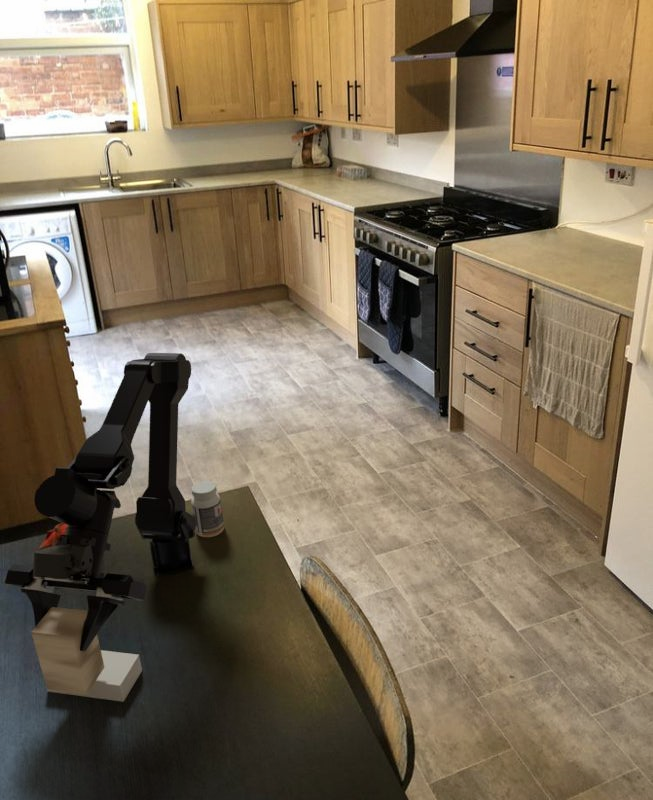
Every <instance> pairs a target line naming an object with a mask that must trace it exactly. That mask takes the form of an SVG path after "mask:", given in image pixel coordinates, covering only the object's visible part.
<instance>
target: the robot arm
mask: <svg viewBox="0 0 653 800" xmlns="http://www.w3.org/2000/svg"><path fill="white" fill-rule="evenodd" d="M191 375H192V364H191V362H190V360H189V359H187V358H186V356H185V354H183V353H174V352H171V353H170V352H168V353H167V352H148V353H146V354H145V356H144V358H140V359H132V360H130V361H126V363H125V365H124V369H123V378H122V380H121V382H120V383H119V384H120V385H119V386H118V388H117V391H116V393H115V396H114V398H113V400H112V402H111V405H110V406H109V408H108V412H107V413H106V416H105V418H104V420H103V422H102V425H101V426H100V428H99V430H98V431H96V432H95V433H93V434H91V435H90V436H89V437H87V438H86V439H85V441H84V442H83V444H82V445H81V447H80V449H79V451H78V452H77V453H76V456H75V457H74V458H73V459H72V461H70V463H69V464H68V465H67V466H66V467H62V466H57V467H55V470H54V475H52V476H49V477H47V478H46V479H45V480H44V481H42V482H41V484H40V485H39V487H38V488H37V489H36V490H35V493H34V506H35V508H36V510H37V511H38V513H39V514H40V515H42V516H44V517H47V518H49V519H52V520H54V521H57V522H59V523H64V524H67V525H68V527H67V531H66V535H60V537H59V538H58V541H57V544H56V546H53V547H48V548H44V549H41V550H38V549H37V550H38V551H37V550H35V551H34V552H33V565H23V564H12V565H11V567H10V568H9V569H8V570H6V573H5V577H4V580H3V583H2V584H4V585H8V586H12V587H16V588H20V592H21V593H22V594H25V595H26V597H27V598H28V599H29V601H30V603H31V606H32V610H33V616H34V626H35V627H36V626H37V624H38V623H39V622H40V621H41V620H42V618H43V617H44V616H45V615H46V614H47V612H48V611H49V610H50V609H51V608H52V607H58V606H59V603H60V599H61V597H62V596H61V594H57V593H54V589H55V588H59V589H60V588H61V589H69V590H72V589H73V590H81V591H92V592H95V595H88V594H87V596H86V599H87V607H88V610H87V611H88V613H87V617H86V621H85V625H84V629H83V633H82V637H81V644H80V651H86V650H87V648H88V647H89V645H90V644H91V642H92V641H93V639H94V638H95V636H96V635H97V636H98V634H99V632H100V630H101V629H102V627H103V626H104V624H105V623H106V622H107V621H108V619H109V618H110V617H111V616H112V615H113V613H114V612H115V611H116V610H117V609H118V607H119V606H125V604H126V601H124V599H125V600H133V601H142V602H143V601H145V598H146V594H147V584H146V582H145V580H144V579H142V578H139V577H137V576H133V575H129V574H119V573H118V574H117V573H109V572H108V573H106V574H105V572H101V571H102V567H103V562H104V557H105V553H106V552H110V551H111V546H112V544H110V543H108V538H109V534H110V529H111V525H112V520H113V516H114V511H115V509H120V508H121V507H122V505H121V501H120V499H119V498H118V496H117V495H116V491H115V489H116V488H120V487H122V486H124V485H126V484H127V482H128V480H129V479H130V477H131V476H132V471H133V465H134V460H135V455H134V451H133V448H132V443H133V439H134V437H135V434H136V431H137V430H138V427H139V424H140V422H141V419H142V417H143V414H144V412H145V409H146V407H147V404H148V402H149V433H148V434H149V438H148V472H147V473H148V476H147V480H148V481H147V482H148V483H147V487H146V489H145V491H144V492H143V494H141V496H139V497H137V499H136V502H135V506H136V507H135V508H136V509H135V510H136V513H135V517H134V518H135V519H134V522H135V523H134V524H135V526H136V527H135V528H136V529H137V531H138V533H139V534H140V537H141V538H142V540H150V541H148V542H149V549H150V554H151V561H152V567H153V568H154V569H155V568H156V574H157V576H163V575H167V574H172V573H176V572H181V571H185V570H190V569H192V568H194V567H195V566H194V565H195V564H194V562H193V557H192V553H191V547H190V541H189V540H190V539H192V538H194V537H195V536H196V531H195V528H196V518H195V517H194V516H193V514H190V513H189V512H187V511H186V500H185V497H184V495H183V494H182V492H181V491H180V489H179V487H178V485H177V470H178V434H179V433H178V431H179V403H180V402H181V400H182V399H183V398H184V396H185V394H186V393H187V391H188V390H189V381H190V377H191ZM101 489H102V490H101ZM82 579H84V580H82ZM85 580H87V581H85ZM35 627H34V628H35Z"/></svg>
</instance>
